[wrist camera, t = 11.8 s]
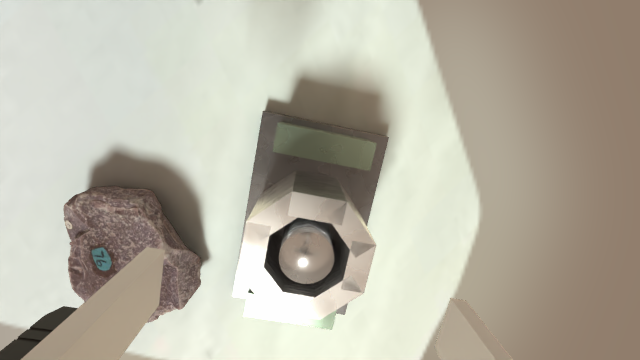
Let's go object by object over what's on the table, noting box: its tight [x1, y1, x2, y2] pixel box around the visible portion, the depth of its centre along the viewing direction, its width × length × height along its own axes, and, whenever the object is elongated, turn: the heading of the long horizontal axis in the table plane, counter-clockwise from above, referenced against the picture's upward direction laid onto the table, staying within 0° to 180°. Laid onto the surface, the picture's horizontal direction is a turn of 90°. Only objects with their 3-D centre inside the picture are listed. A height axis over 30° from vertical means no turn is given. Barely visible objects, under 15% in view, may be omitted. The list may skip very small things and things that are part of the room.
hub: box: [238, 170, 376, 320], centre depth 23 cm, size 8×8×7 cm
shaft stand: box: [232, 111, 389, 330], centre depth 24 cm, size 16×10×8 cm, turn 168°
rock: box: [64, 186, 201, 323], centre depth 25 cm, size 8×11×5 cm
